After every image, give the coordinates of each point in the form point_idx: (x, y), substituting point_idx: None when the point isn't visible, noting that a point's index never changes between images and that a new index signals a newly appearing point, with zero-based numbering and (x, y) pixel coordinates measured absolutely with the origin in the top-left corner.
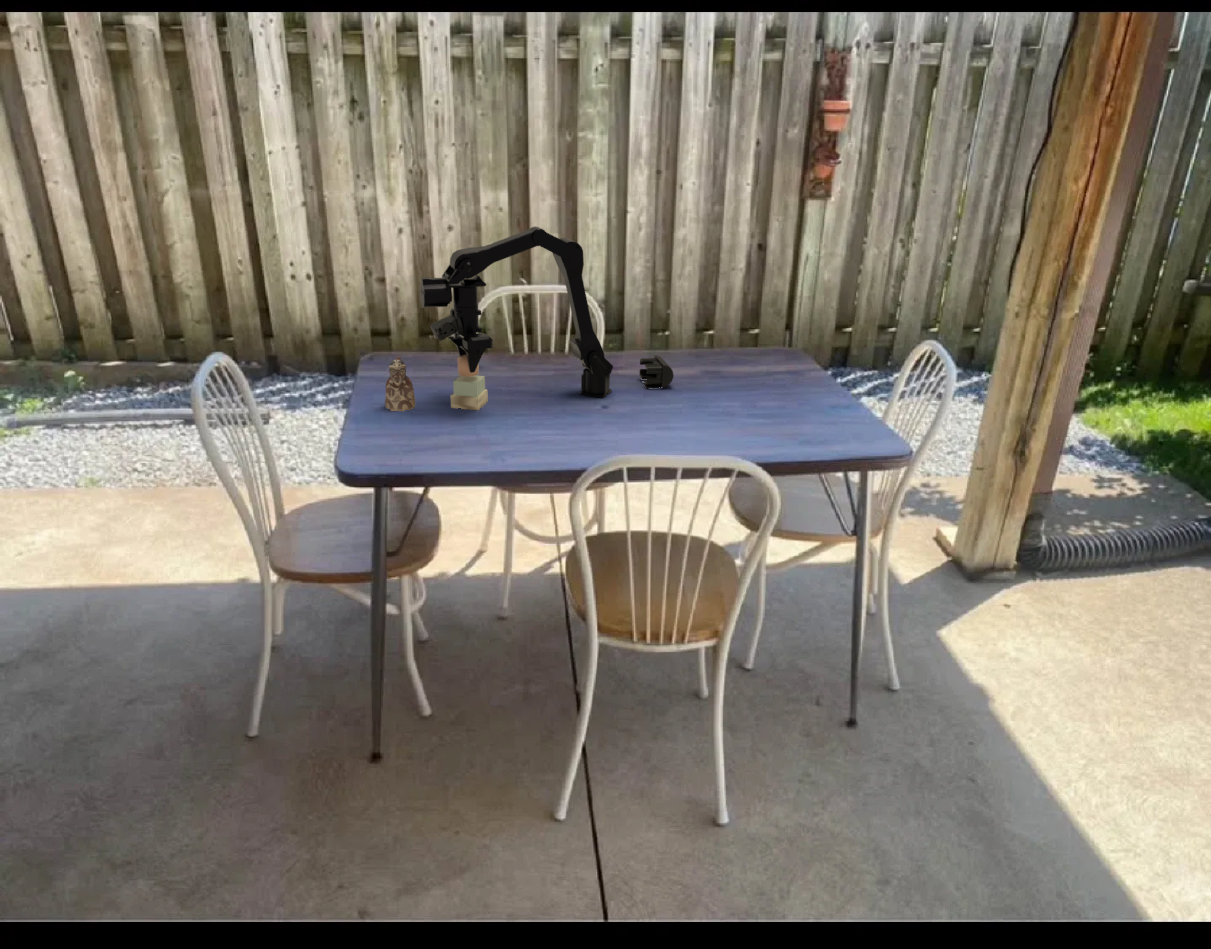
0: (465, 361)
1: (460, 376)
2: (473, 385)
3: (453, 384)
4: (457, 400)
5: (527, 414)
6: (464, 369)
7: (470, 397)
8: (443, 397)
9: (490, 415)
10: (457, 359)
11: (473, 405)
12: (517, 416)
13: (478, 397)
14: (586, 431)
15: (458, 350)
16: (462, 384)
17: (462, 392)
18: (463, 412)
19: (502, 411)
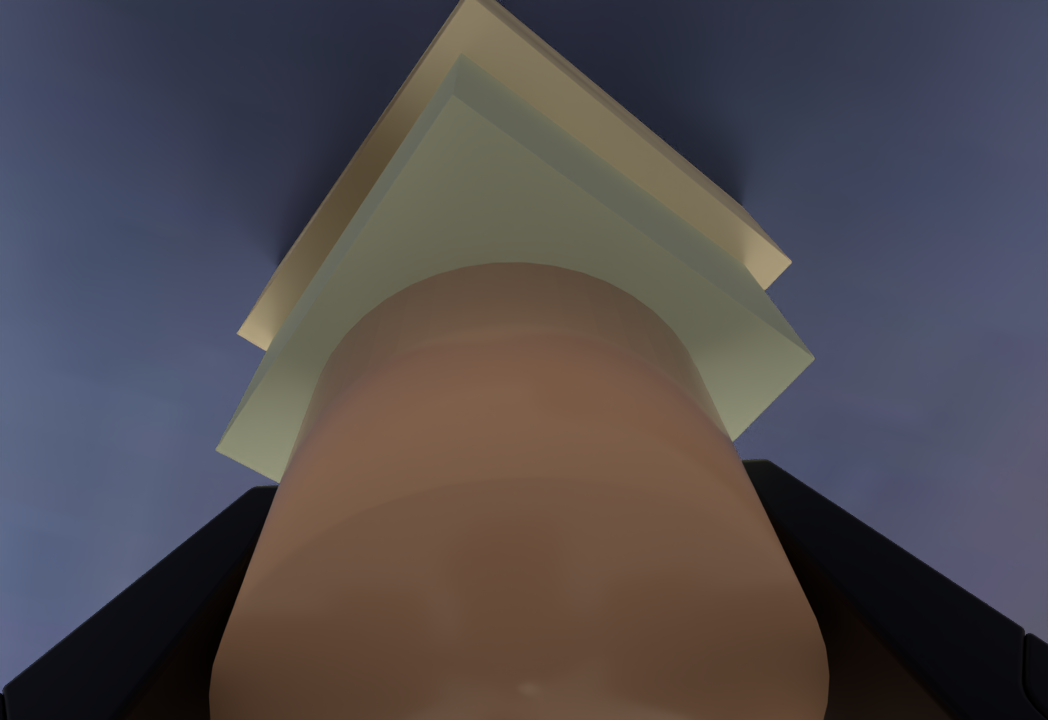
0: (242, 590)
1: (697, 309)
2: (260, 379)
3: (453, 83)
4: (409, 79)
5: (58, 620)
6: (308, 421)
7: (294, 252)
8: (920, 13)
9: (75, 334)
10: (586, 450)
11: (295, 243)
12: (10, 541)
13: (259, 345)
14: None
15: (998, 718)
16: (358, 231)
17: (378, 183)
18: (242, 82)
19: (186, 469)
